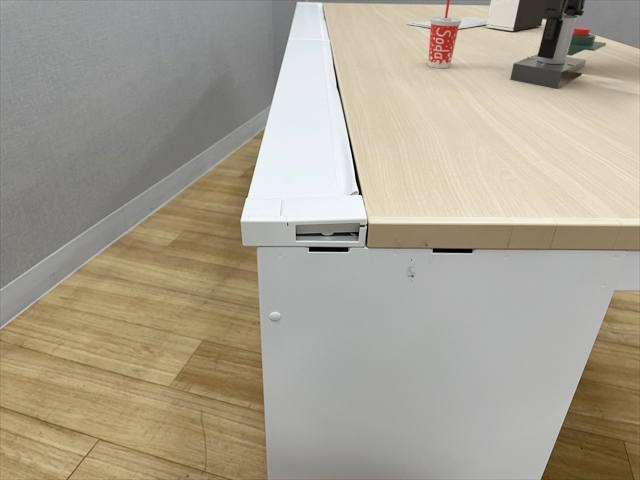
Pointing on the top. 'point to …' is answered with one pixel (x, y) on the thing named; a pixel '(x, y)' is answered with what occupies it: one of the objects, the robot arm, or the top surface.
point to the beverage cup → (442, 40)
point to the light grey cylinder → (562, 41)
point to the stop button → (581, 31)
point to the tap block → (546, 71)
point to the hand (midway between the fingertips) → (552, 54)
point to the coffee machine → (506, 15)
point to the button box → (583, 44)
